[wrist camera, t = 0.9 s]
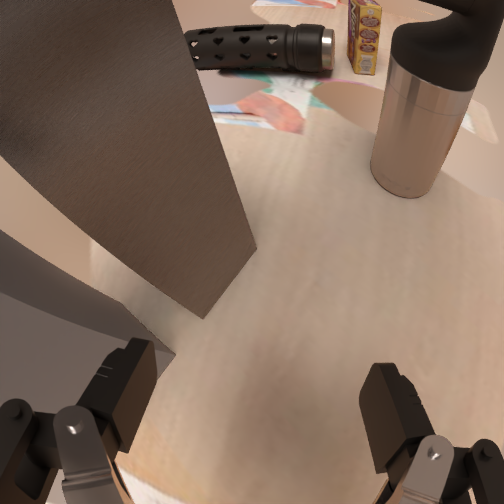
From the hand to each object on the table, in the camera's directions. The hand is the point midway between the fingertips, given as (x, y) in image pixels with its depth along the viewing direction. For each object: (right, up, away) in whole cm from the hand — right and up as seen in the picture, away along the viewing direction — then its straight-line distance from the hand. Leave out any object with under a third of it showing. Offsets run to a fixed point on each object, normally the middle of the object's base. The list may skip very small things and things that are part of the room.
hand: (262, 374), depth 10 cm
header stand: (-7, +3, +25) cm, 26 cm away
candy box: (+21, +41, +38) cm, 60 cm away
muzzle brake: (+1, +40, +40) cm, 57 cm away
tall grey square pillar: (-16, -8, +21) cm, 27 cm away
